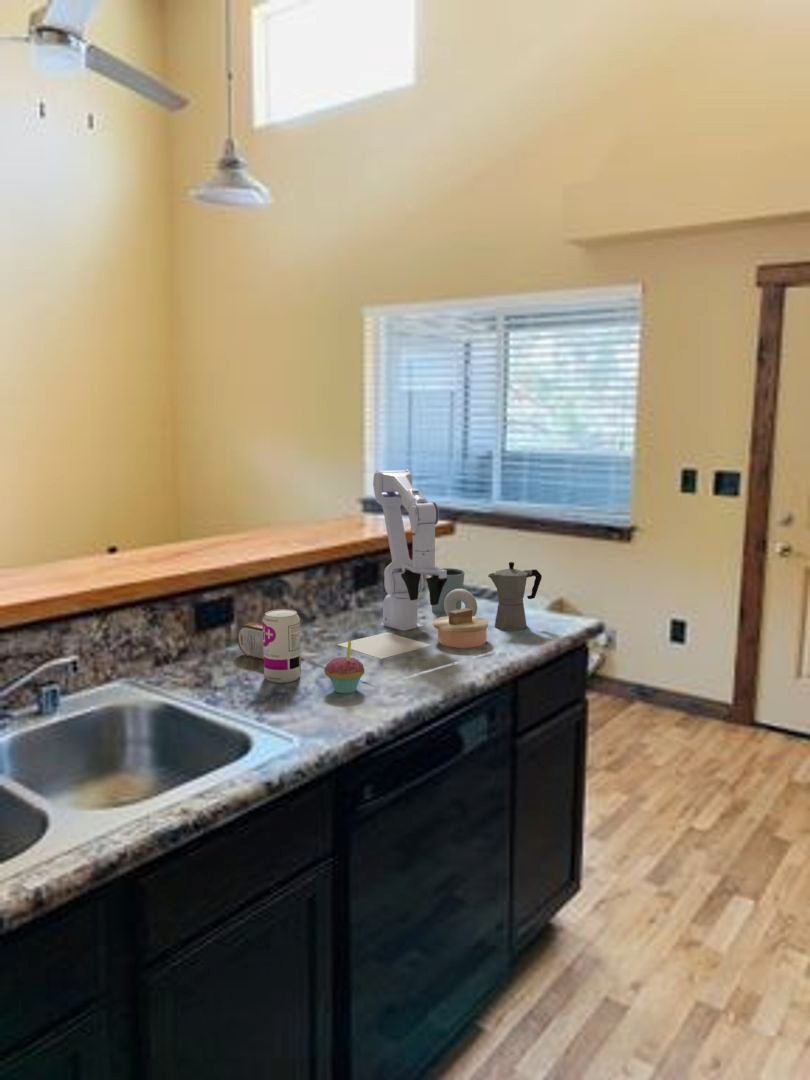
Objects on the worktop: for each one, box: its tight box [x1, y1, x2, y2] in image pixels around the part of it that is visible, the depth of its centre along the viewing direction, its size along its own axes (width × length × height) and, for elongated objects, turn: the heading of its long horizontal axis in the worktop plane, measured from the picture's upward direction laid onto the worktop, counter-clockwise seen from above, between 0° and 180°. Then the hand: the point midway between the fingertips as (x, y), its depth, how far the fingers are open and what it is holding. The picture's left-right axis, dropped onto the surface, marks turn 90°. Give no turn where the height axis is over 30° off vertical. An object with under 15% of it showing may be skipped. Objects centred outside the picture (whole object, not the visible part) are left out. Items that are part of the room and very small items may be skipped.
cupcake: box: [323, 637, 365, 694], centre depth 183 cm, size 9×8×12 cm
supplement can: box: [262, 609, 302, 684], centre depth 191 cm, size 8×8×15 cm
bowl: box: [437, 628, 487, 649], centre depth 220 cm, size 12×12×5 cm
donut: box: [444, 588, 478, 617], centre depth 239 cm, size 10×3×10 cm, turn 61°
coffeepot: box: [487, 561, 543, 631], centre depth 236 cm, size 15×9×18 cm, turn 103°
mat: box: [337, 631, 432, 660], centre depth 217 cm, size 17×17×1 cm
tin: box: [236, 621, 264, 661], centre depth 207 cm, size 15×3×8 cm, turn 54°
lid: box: [432, 607, 489, 632], centre depth 219 cm, size 14×14×4 cm
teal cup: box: [430, 567, 465, 615], centre depth 254 cm, size 10×10×12 cm
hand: (423, 602), depth 220 cm, fingers open, 7 cm apart
